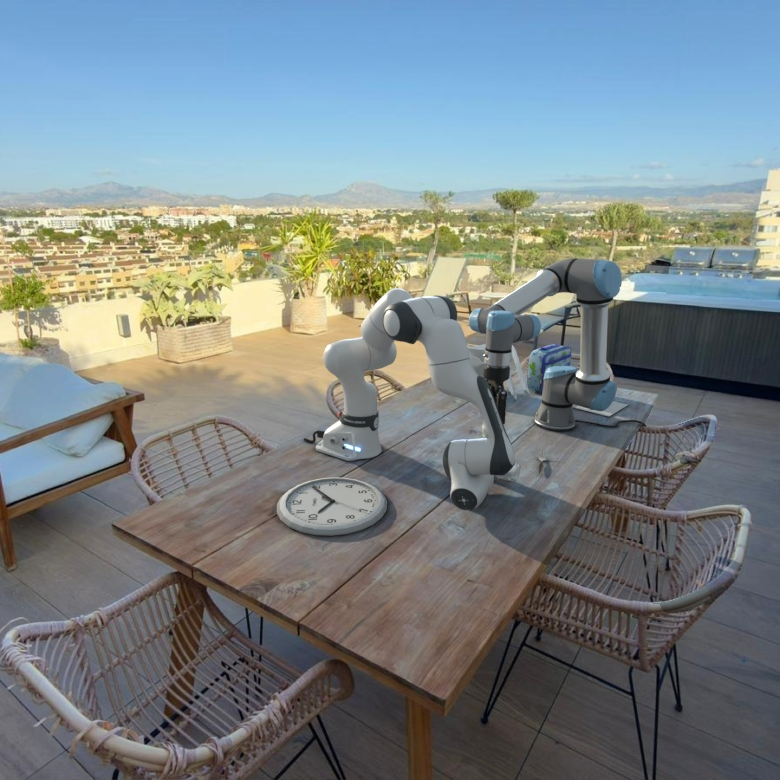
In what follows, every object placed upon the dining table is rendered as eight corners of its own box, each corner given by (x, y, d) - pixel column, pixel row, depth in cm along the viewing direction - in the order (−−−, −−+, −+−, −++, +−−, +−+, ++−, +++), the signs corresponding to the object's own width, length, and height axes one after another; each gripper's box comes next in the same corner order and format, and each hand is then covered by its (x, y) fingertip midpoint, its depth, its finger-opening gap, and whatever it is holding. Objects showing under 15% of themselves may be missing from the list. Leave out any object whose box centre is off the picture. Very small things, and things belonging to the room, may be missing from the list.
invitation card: (608, 416, 214) (573, 407, 224) (608, 416, 214) (573, 408, 224) (628, 404, 229) (594, 396, 238) (628, 405, 229) (594, 397, 238)
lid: (505, 435, 155) (505, 429, 154) (485, 436, 154) (485, 430, 153) (497, 427, 160) (498, 421, 160) (478, 428, 159) (479, 422, 159)
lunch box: (543, 396, 238) (548, 352, 231) (522, 391, 245) (526, 347, 239) (570, 385, 255) (575, 343, 249) (550, 381, 262) (555, 340, 256)
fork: (534, 474, 163) (535, 468, 162) (539, 454, 177) (539, 449, 176) (543, 475, 162) (544, 469, 161) (547, 455, 176) (547, 450, 175)
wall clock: (392, 527, 129) (268, 531, 127) (391, 533, 130) (269, 537, 127) (383, 473, 158) (282, 475, 155) (383, 478, 158) (282, 480, 156)
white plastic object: (461, 429, 252) (437, 405, 227) (444, 352, 274) (420, 323, 250) (535, 404, 240) (518, 377, 215) (510, 326, 262) (492, 293, 237)
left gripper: (516, 471, 143) (525, 453, 155) (445, 458, 151) (459, 441, 163) (514, 492, 145) (523, 472, 157) (444, 478, 153) (457, 459, 165)
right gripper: (474, 357, 159) (469, 428, 166) (495, 374, 141) (489, 452, 148) (498, 357, 160) (492, 427, 167) (522, 373, 142) (514, 451, 149)
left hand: (490, 456), depth 160 cm, fingers closed on jar, 5 cm apart
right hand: (491, 439), depth 158 cm, fingers closed on lid, 6 cm apart
